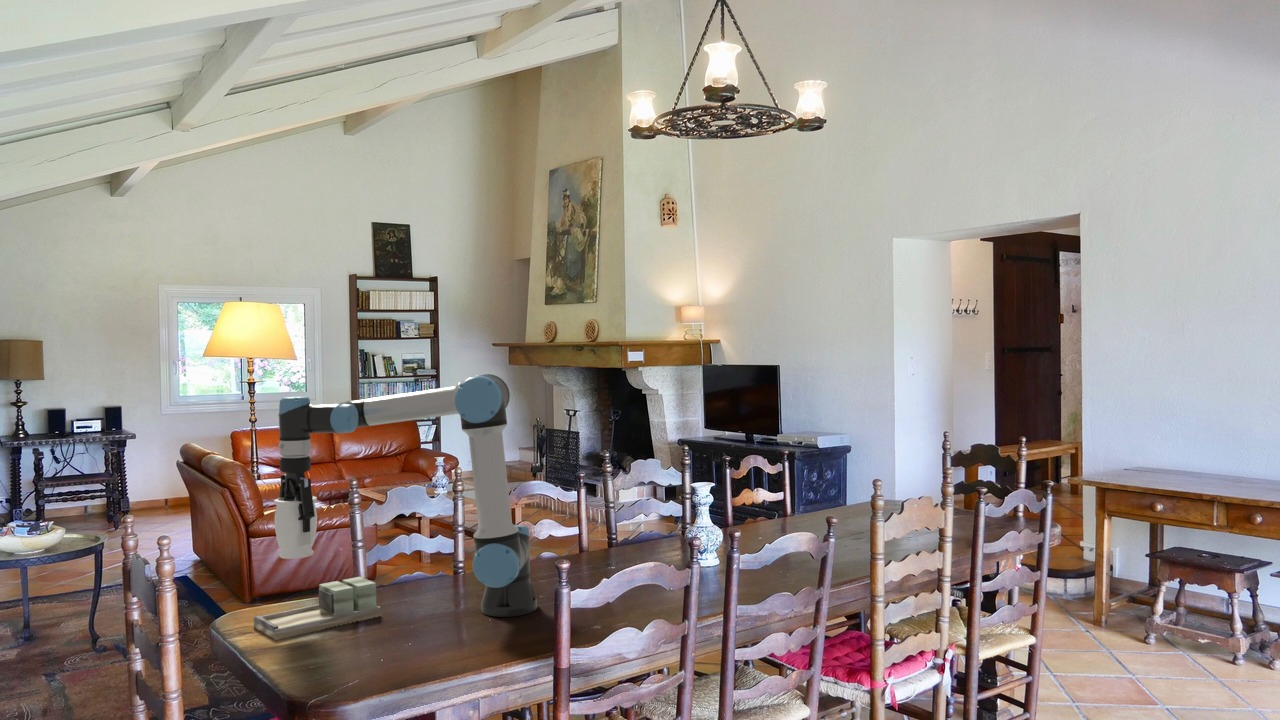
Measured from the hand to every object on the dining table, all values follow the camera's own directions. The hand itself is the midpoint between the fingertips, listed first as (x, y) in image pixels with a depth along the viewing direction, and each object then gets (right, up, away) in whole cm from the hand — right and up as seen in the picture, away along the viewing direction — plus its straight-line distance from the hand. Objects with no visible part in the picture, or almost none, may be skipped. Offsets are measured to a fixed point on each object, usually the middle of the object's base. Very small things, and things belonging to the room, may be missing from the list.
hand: (296, 541), depth 237 cm
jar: (0, -4, 0) cm, 4 cm away
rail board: (+4, -22, +4) cm, 23 cm away
